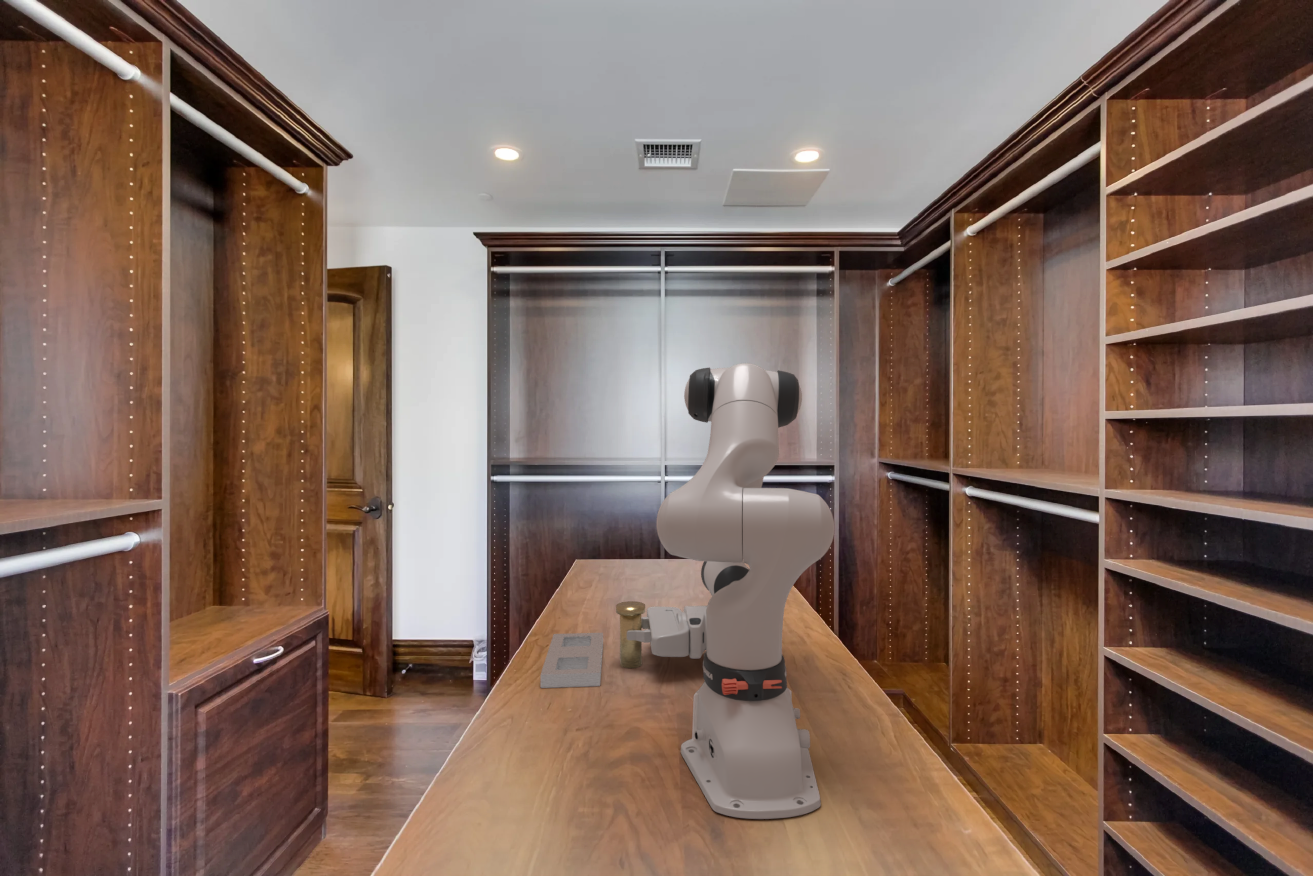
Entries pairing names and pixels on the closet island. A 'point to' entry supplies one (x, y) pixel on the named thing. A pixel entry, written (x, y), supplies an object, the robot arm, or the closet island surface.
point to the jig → (573, 661)
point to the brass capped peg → (628, 620)
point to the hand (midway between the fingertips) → (626, 629)
